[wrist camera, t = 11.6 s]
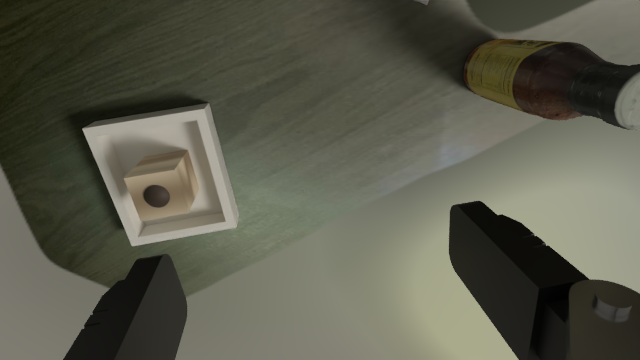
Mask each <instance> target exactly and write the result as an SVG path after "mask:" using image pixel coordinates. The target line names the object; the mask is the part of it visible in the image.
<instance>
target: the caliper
mask: <svg viewBox="0 0 640 360" xmlns="http://www.w3.org/2000/svg"><path fill="white" fill-rule="evenodd" d="M414 1H417V2H419V3H422V4H424V5H427V4H428V2H429V0H414Z"/></svg>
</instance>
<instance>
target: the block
mask: <svg viewBox="0 0 640 360" xmlns="http://www.w3.org/2000/svg"><path fill="white" fill-rule="evenodd" d="M124 180H125V183H126V185H127V188H128V190H129V193H130V195H131V198H132V200H133V203H134V206H135V208H136V211H137V213H138V216H139V218H140V221H145V220H151V219H157V218H163V217H169V216H174V215H180V214H186V213H189V211H190V209H191V206H192V204H193V202H194V200H195V197H196V195H197V193H198V191H199V185H198V181H197V178H196V175H195V172H194V168H193V165H192V162H191V158H190V155H189V152H188V150H183V151H177V152H171V153H165V154H159V155H153V156H147V157H144V158H143V159H142V160H141V161H140V162H139V163H138V164H137V165H136V166H135V167H134V168H133V169H132V170H131V171H130V172H129V173H128V174H127V175H126V176H125V177H124Z"/></svg>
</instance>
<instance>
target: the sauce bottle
mask: <svg viewBox="0 0 640 360" xmlns="http://www.w3.org/2000/svg"><path fill="white" fill-rule="evenodd" d="M463 77H464V80H465V82H466V85H467V86H468V87H469V88H470V90H472V92H474V93H475V94H477V95H480V96H481V97H483V98H486V99H489V100H491V101H494V102H497V103H500V104H502V105H505V106H508V107H511V108H514V109H517V110H520V111H523V112H526V113H528V114H532V115H538V116H540V117H543V118H546V119H552V120H568V119H571V118H575V117H578V116H583V115H585V116H593V117H597V118H600V119H602V120H603V121H605V122H606V123H609V124H612V125H614V126H618V127H621V128H624V129H628V130H637V129H640V64H637V65H631V66H627V65H617V64H614V63H611V62H606V61H605V60H603V59H602V58H600V57H599V56H598V55H596V54H595V53H594V52H592V51H591V50H590V49H588V48H587V47H585V46H584V45H581V44H578V43H573V42H553V41H534V40H513V39H496V40H490V41H486V42H485V43H483V44H481V45H480V46H478V47H477V48H476V49H475V50H473V51H472V52H471V53H470V55H469V56H468V58H467V61H466V63H465V67H464V74H463Z"/></svg>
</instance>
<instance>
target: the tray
mask: <svg viewBox="0 0 640 360" xmlns="http://www.w3.org/2000/svg"><path fill="white" fill-rule="evenodd" d="M82 130H83V132H84V134H85V137H86V139H87V141H88V144H89V146H90V148H91V151H92V153H93V156H94V158H95V160H96V163H97V165H98V167H99V170H100V172H101V174H102V177H103V179H104V181H105V184H106V186H107V188H108V191H109V193H110V195H111V198H112V200H113V203H114V205H115V207H116V210H117V212H118V214H119V217H120V219H121V221H122V224H123V226H124V228H125V231H126V233H127V235H128V238H129V240H130V243H131V245H132V246H136V245H142V244H148V243H153V242H159V241H164V240H170V239H175V238H181V237H186V236H192V235H197V234H203V233H208V232H214V231H219V230H225V229H231V228H236V227H237V223H238V217H239V213H238V210H237V206H236V202H235V198H234V195H233V191H232V187H231V183H230V180H229V176H228V172H227V168H226V165H225V161H224V157H223V153H222V150H221V146H220V142H219V138H218V135H217V131H216V127H215V123H214V120H213V116H212V112H211V108H210V105H209V103H205V104H198V105H192V106H186V107H180V108H174V109H168V110H161V111H155V112H149V113H143V114H137V115H131V116H124V117H118V118H112V119H106V120H100V121H95V122H93V123H92V124H90V125H88V126H86V127H84V128H83V129H82ZM183 150H188V152H189V155H190V158H191V162H192V165H193V168H194V172H195V175H196V178H197V181H198V185H199V191H198V193H197V195H196V197H195V200H194V202H193V204H192V206H191V209H190V211H189V213H186V214H180V215H174V216H169V217H163V218H157V219H151V220H145V221H140V218H139V216H138V213H137V211H136V208H135V206H134V203H133V200H132V198H131V195H130V193H129V190H128V188H127V185H126V183H125V180H124V177H125V176H126V175H127V174H128V173H129V172H130V171H131V170H132V169H133V168H134V167H135V166H136V165H137V164H138V163H139V162H140V161H141V160H142V159H143V158H144V157H147V156H153V155H159V154H165V153H171V152H177V151H183Z"/></svg>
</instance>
